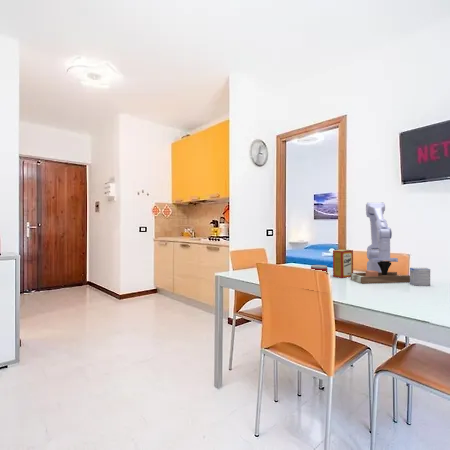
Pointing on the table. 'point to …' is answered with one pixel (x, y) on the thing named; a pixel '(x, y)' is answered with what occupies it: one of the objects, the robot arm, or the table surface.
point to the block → (371, 273)
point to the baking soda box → (342, 263)
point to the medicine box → (420, 276)
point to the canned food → (319, 267)
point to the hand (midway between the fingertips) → (384, 275)
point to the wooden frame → (380, 278)
